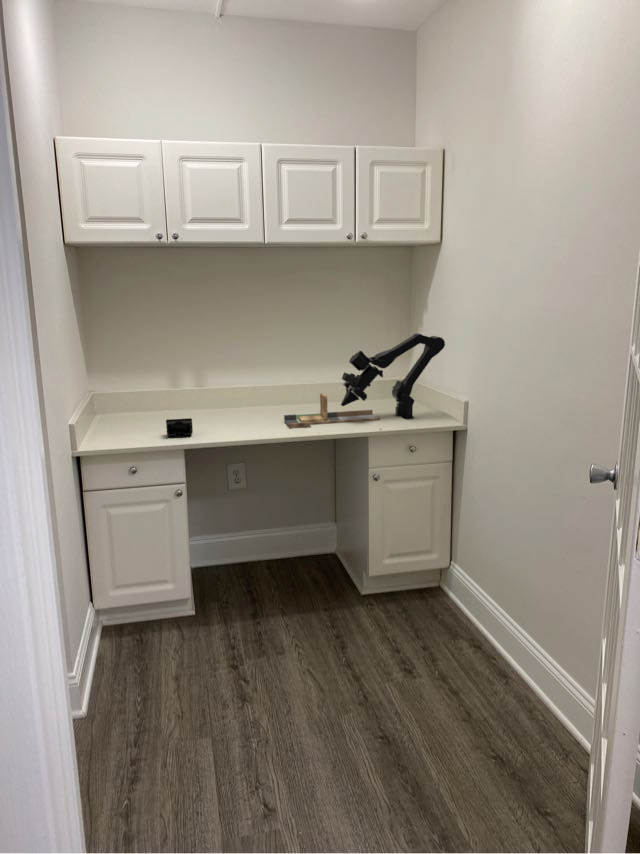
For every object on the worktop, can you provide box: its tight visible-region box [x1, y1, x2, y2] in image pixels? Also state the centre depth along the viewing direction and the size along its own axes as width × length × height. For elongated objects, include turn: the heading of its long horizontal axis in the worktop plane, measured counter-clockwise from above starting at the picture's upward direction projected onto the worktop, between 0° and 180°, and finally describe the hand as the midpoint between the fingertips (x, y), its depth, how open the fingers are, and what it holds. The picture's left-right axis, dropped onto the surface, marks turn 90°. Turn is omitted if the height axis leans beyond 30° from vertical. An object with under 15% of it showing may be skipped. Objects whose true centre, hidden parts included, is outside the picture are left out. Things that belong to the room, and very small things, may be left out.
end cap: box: [165, 417, 194, 439], centre depth 262 cm, size 10×7×7 cm
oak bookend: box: [299, 393, 329, 423], centre depth 278 cm, size 11×7×11 cm, turn 102°
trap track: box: [283, 409, 377, 429], centre depth 282 cm, size 39×11×3 cm, turn 102°
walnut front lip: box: [288, 417, 381, 429], centre depth 276 cm, size 39×1×2 cm, turn 102°
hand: (341, 405), depth 281 cm, fingers closed
